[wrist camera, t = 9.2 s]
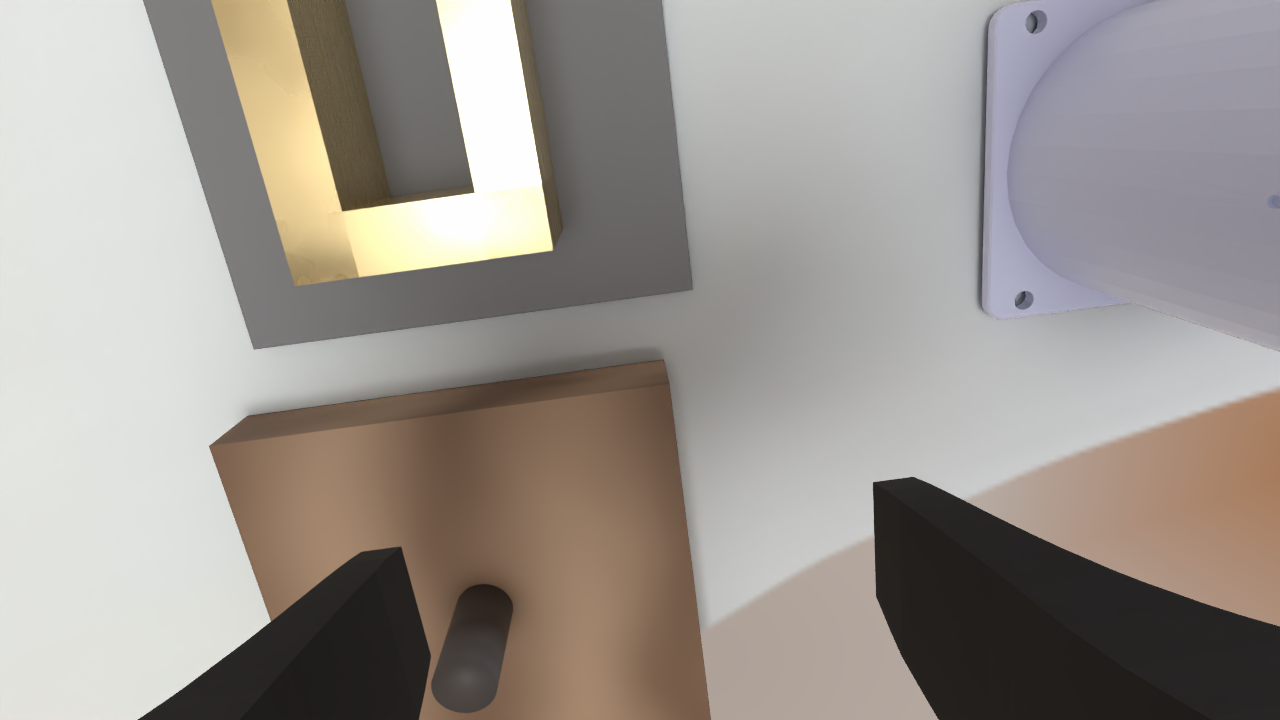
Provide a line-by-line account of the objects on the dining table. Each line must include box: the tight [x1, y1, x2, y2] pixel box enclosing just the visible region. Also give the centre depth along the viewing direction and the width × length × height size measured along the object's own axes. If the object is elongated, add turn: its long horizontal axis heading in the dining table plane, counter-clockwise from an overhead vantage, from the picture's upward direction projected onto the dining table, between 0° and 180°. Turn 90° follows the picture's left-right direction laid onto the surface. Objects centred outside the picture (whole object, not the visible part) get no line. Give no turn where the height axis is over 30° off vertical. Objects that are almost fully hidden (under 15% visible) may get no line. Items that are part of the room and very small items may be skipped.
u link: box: [211, 0, 563, 286], centre depth 16 cm, size 8×6×4 cm
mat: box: [143, 0, 693, 349], centre depth 17 cm, size 12×12×1 cm
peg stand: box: [209, 360, 711, 720], centre depth 20 cm, size 12×12×5 cm
